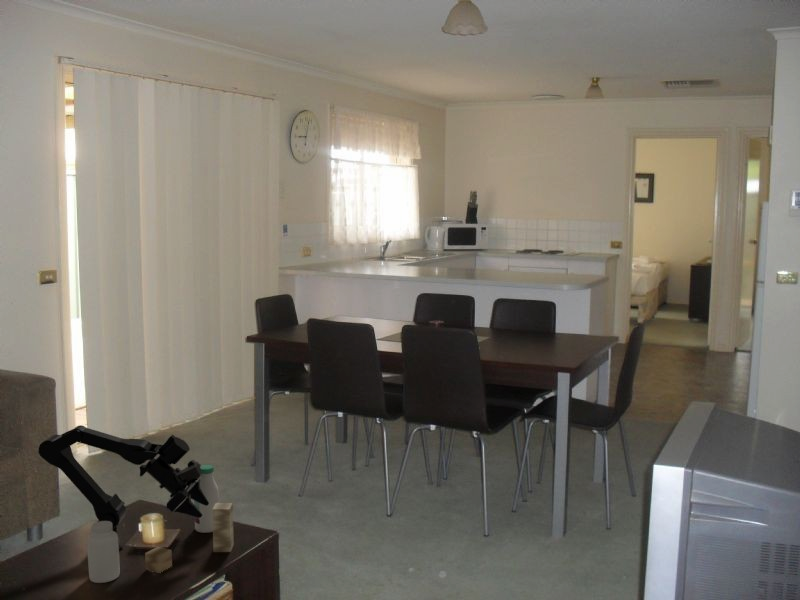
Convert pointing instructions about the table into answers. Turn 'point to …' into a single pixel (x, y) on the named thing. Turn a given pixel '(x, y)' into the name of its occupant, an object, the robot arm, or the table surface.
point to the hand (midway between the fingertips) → (204, 510)
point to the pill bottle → (103, 553)
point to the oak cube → (158, 559)
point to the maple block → (222, 527)
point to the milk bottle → (211, 495)
